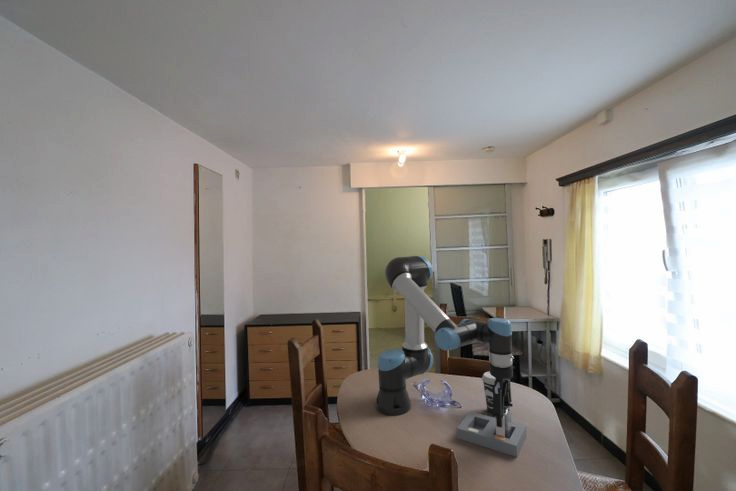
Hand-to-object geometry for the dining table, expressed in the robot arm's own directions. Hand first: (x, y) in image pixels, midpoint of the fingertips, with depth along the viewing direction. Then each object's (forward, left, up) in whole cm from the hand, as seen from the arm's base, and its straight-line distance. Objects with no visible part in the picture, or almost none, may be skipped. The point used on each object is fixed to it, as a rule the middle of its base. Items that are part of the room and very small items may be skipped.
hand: (503, 429), depth 115 cm
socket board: (-4, 0, -4) cm, 6 cm away
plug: (0, 0, -3) cm, 3 cm away
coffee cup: (-8, +19, -4) cm, 21 cm away
